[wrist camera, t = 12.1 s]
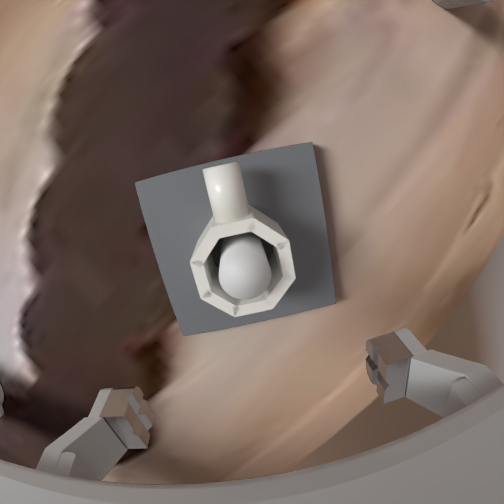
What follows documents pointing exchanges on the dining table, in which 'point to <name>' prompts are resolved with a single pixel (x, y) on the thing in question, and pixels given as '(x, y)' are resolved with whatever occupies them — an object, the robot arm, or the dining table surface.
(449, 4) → the house plant
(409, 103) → the dining table surface
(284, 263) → the collar
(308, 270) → the duct plate
